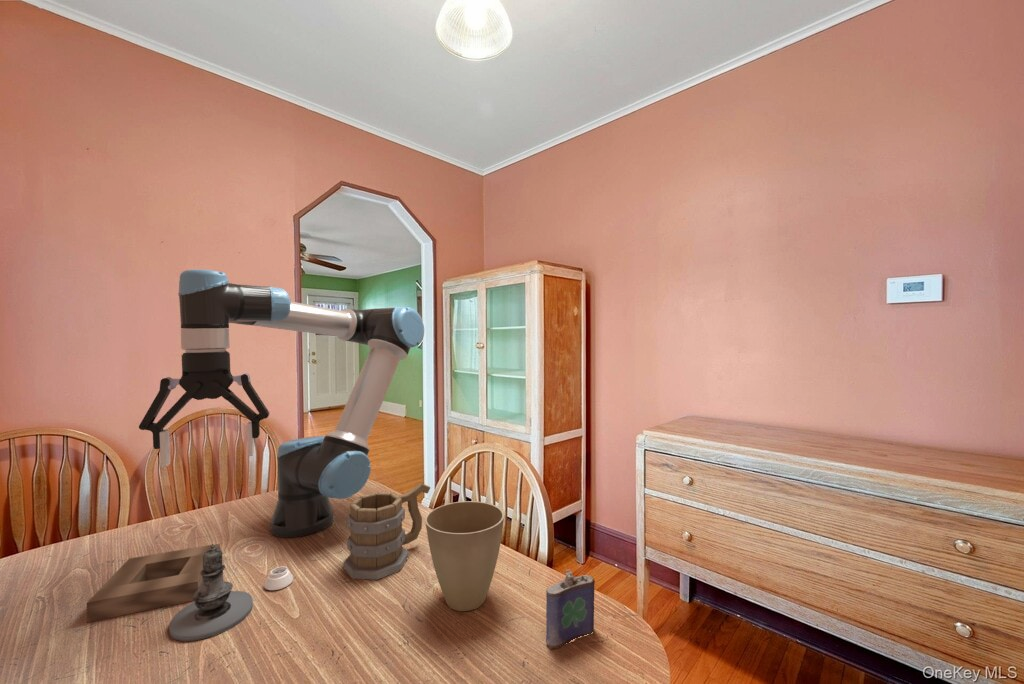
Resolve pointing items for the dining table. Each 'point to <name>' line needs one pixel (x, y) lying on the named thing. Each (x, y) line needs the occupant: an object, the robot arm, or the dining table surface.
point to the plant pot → (465, 550)
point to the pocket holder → (149, 583)
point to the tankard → (380, 533)
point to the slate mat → (192, 630)
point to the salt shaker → (212, 588)
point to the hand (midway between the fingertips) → (210, 459)
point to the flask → (569, 609)
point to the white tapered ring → (278, 578)
